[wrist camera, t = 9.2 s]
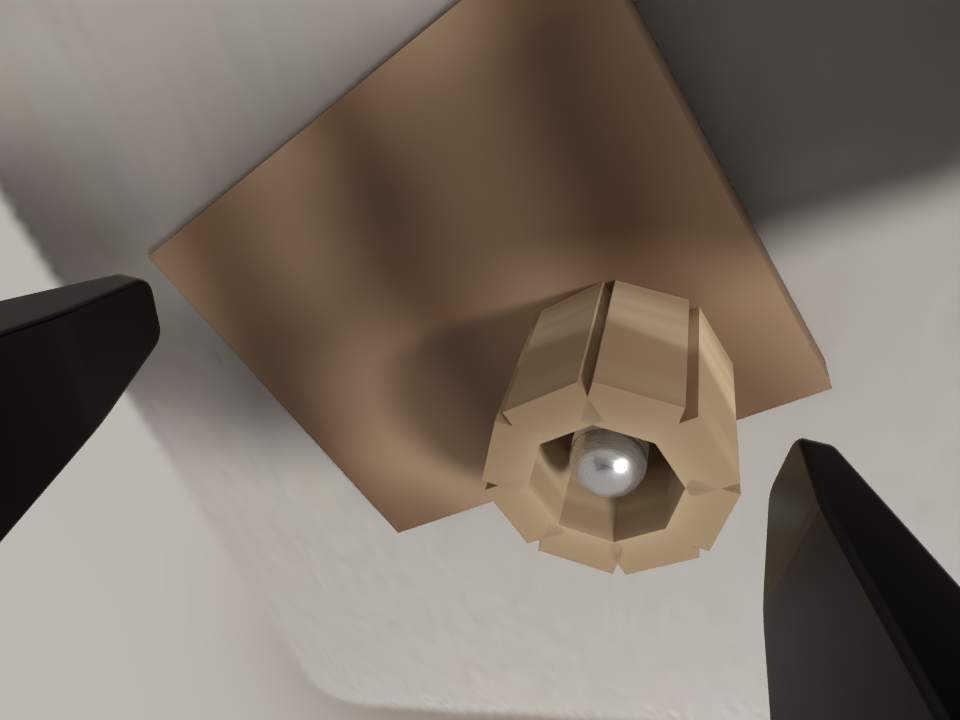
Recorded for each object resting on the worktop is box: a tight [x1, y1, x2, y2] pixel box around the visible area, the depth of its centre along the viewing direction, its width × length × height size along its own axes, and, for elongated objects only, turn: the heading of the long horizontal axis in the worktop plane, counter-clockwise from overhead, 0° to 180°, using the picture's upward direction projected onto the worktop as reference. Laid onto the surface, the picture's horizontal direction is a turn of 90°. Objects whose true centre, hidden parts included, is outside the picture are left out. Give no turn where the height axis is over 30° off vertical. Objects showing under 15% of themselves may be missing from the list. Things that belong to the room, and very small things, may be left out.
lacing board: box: [148, 0, 832, 533], centre depth 22 cm, size 17×14×2 cm
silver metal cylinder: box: [569, 425, 650, 498], centre depth 19 cm, size 2×2×5 cm
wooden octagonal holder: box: [482, 280, 741, 574], centre depth 19 cm, size 6×6×5 cm
